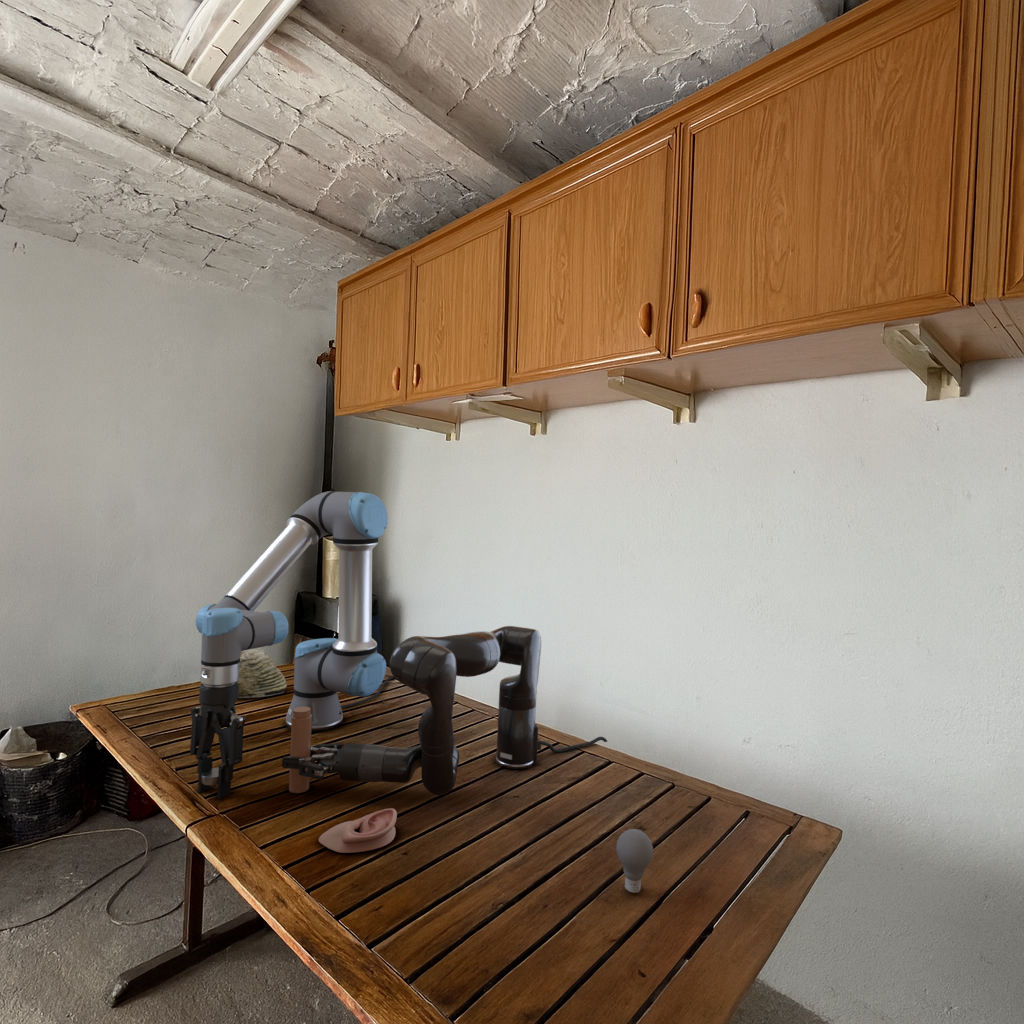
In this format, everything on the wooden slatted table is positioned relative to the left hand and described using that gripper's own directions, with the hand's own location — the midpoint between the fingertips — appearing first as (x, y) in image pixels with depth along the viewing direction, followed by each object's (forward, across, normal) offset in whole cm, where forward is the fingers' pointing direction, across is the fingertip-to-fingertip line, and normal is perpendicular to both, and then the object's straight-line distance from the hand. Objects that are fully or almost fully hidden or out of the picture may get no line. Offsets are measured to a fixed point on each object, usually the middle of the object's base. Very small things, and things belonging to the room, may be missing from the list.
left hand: (214, 792), depth 133 cm
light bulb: (0, +87, +8) cm, 88 cm away
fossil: (0, -42, +52) cm, 67 cm away
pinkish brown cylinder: (0, +14, +10) cm, 17 cm away
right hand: (-7, +11, +9) cm, 16 cm away
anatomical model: (0, +37, 0) cm, 37 cm away
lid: (-4, 0, 0) cm, 4 cm away
